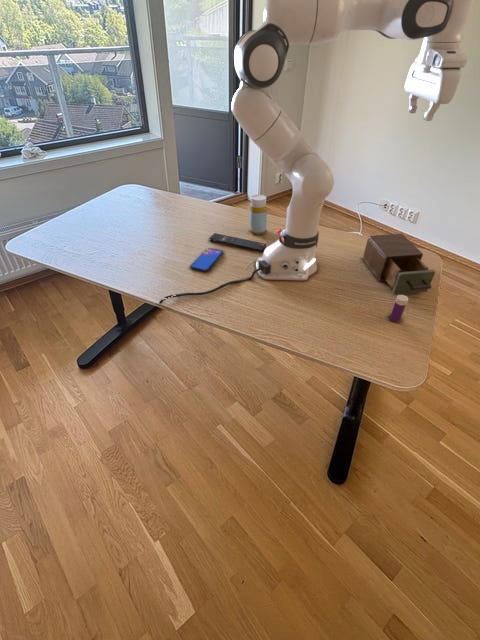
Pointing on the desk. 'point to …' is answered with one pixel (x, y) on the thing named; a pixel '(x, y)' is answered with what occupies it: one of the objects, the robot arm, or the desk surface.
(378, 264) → the cabinet
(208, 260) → the smartphone
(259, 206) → the bottle
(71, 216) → the desk surface
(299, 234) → the robot arm
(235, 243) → the remote control
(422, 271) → the drawer
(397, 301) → the glue stick
